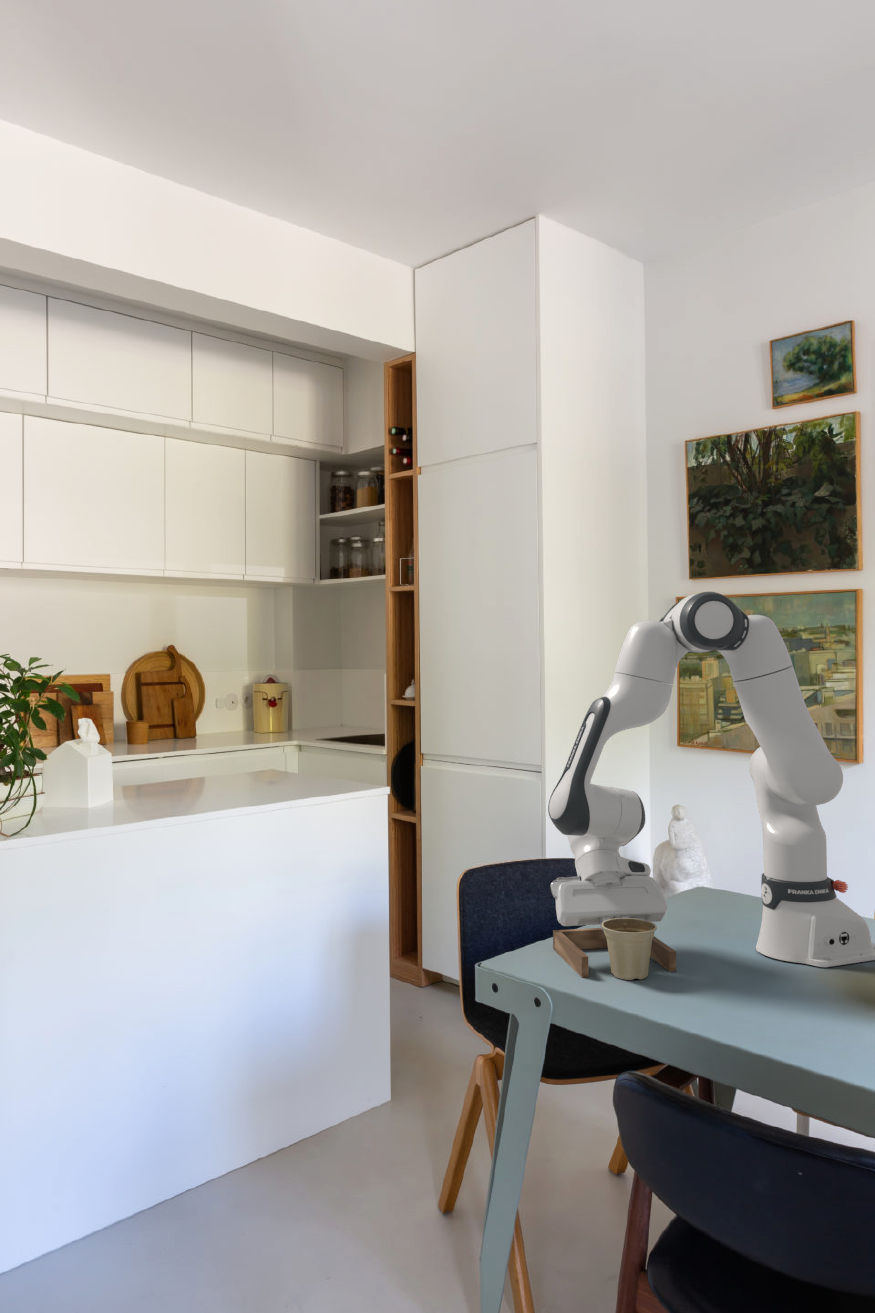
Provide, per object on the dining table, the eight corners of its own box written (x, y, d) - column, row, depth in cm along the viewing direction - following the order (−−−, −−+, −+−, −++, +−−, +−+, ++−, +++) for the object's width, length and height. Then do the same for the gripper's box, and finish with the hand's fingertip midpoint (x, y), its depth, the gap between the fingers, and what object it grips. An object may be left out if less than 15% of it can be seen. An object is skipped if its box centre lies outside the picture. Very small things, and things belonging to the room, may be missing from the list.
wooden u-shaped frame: (639, 943, 179) (638, 925, 179) (676, 971, 162) (675, 951, 162) (553, 949, 176) (553, 930, 176) (581, 977, 159) (581, 957, 159)
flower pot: (658, 985, 155) (657, 933, 155) (601, 982, 157) (600, 931, 157) (656, 968, 164) (656, 919, 164) (602, 965, 166) (602, 916, 166)
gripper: (551, 868, 170) (568, 937, 161) (657, 864, 174) (679, 931, 164) (545, 887, 175) (560, 955, 165) (648, 883, 178) (669, 949, 168)
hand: (620, 943), depth 164 cm, fingers closed, pressing on flower pot
